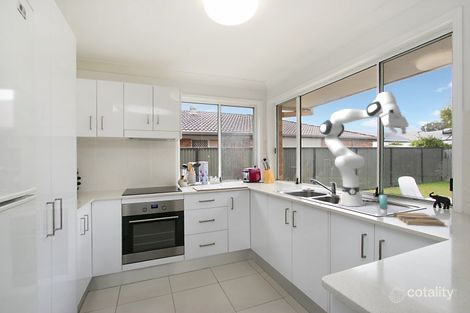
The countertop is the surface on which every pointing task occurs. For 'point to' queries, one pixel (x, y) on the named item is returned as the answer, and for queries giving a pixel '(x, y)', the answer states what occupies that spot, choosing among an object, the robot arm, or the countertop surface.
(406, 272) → the countertop surface
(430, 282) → the countertop surface
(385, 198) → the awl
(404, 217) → the board
